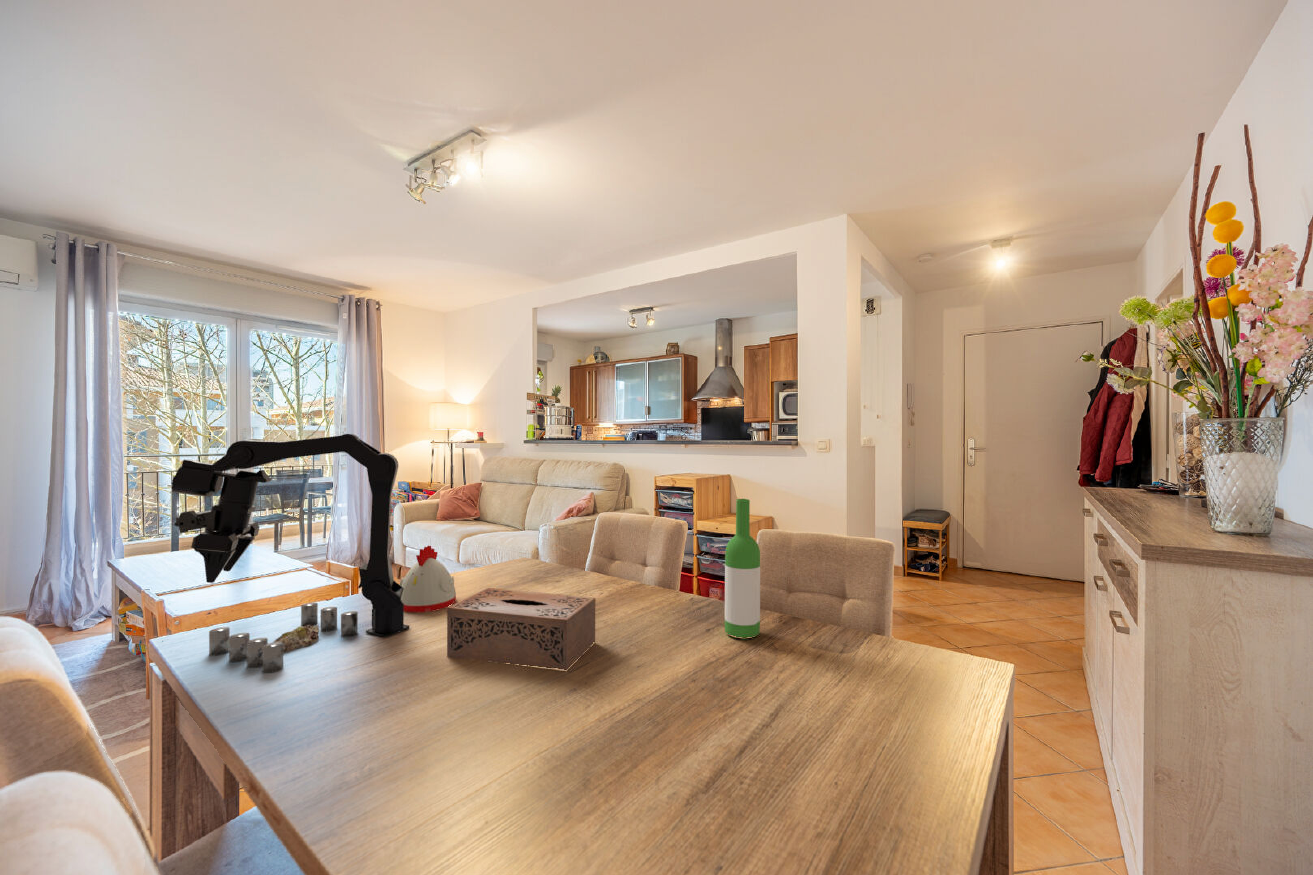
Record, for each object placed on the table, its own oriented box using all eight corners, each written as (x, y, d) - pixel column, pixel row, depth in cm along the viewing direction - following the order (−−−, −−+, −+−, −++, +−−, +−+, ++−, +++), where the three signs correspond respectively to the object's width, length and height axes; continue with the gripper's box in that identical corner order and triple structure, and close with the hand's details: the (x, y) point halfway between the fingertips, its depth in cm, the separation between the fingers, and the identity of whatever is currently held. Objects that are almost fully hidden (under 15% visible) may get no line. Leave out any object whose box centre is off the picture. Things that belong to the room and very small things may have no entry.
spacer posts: (373, 635, 119) (373, 615, 118) (268, 674, 99) (268, 649, 99) (312, 620, 128) (312, 601, 128) (205, 653, 108) (205, 631, 108)
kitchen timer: (385, 610, 135) (386, 550, 135) (418, 594, 149) (418, 540, 149) (437, 614, 133) (437, 553, 133) (465, 597, 147) (465, 542, 147)
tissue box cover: (447, 657, 108) (447, 607, 108) (487, 632, 122) (487, 587, 122) (566, 673, 101) (566, 619, 101) (595, 644, 115) (595, 597, 115)
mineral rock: (296, 624, 120) (325, 616, 118) (301, 643, 120) (331, 636, 118) (250, 644, 109) (281, 636, 107) (256, 665, 109) (287, 658, 107)
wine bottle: (765, 632, 122) (766, 498, 121) (751, 643, 115) (752, 502, 115) (733, 625, 126) (734, 496, 125) (718, 636, 119) (719, 500, 119)
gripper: (206, 489, 117) (188, 561, 116) (167, 500, 99) (146, 585, 98) (267, 497, 121) (250, 567, 120) (239, 509, 104) (220, 590, 103)
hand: (218, 576), depth 110 cm, fingers open, 9 cm apart
